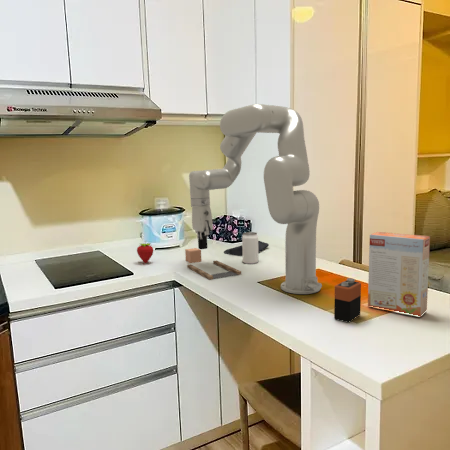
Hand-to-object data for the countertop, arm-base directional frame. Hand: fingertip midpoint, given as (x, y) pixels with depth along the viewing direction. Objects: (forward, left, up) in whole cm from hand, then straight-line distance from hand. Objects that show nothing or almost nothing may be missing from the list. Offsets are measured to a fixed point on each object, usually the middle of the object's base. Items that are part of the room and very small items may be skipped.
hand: (203, 248), depth 166 cm
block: (+10, 0, -7) cm, 12 cm away
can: (-5, -19, -7) cm, 21 cm away
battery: (-70, -9, -7) cm, 71 cm away
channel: (-9, 0, -7) cm, 12 cm away
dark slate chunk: (+14, -29, -8) cm, 33 cm away
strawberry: (+18, +18, -7) cm, 26 cm away
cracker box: (-73, -24, -7) cm, 77 cm away
